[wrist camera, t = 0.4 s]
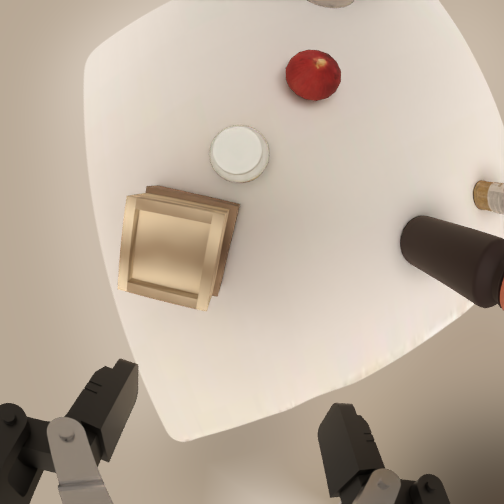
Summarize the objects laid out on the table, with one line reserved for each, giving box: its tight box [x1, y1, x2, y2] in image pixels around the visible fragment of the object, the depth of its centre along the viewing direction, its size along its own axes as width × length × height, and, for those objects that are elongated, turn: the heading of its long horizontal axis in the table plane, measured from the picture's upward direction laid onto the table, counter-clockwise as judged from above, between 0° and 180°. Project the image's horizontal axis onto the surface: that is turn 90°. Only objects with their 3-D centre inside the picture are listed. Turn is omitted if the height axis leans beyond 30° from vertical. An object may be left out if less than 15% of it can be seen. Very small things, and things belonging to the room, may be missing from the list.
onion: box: [286, 50, 341, 101], centre depth 25 cm, size 6×6×8 cm
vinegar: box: [401, 216, 504, 310], centre depth 23 cm, size 7×7×20 cm
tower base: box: [146, 186, 240, 296], centre depth 31 cm, size 10×10×4 cm
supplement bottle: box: [210, 125, 269, 183], centre depth 26 cm, size 5×5×10 cm
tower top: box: [118, 193, 230, 311], centre depth 27 cm, size 9×9×5 cm
